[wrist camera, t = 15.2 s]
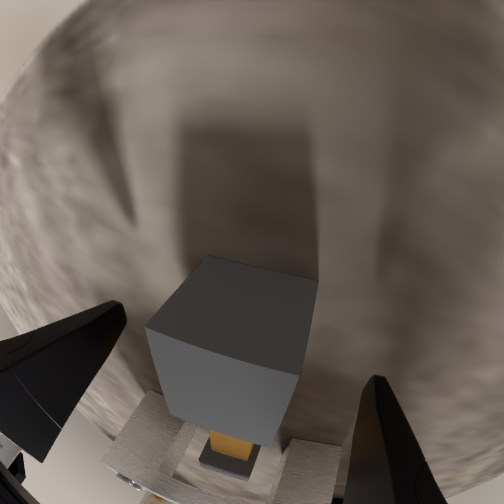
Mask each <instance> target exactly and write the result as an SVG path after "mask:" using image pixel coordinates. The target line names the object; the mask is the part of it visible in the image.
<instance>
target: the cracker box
mask: <svg viewBox="0 0 504 504" xmlns="http://www.w3.org/2000/svg"><path fill="white" fill-rule="evenodd" d="M140 504H174V503H172V502H170V501H168V500H165V499H163V498H161V497H159V496H157V495H155V494H153V493H151V492H149V491H147V492H146V494H145V495H144V497H143V499H142V501H141V503H140Z"/></svg>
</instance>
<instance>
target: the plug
mask: <svg viewBox="0 0 504 504" xmlns="http://www.w3.org/2000/svg"><path fill="white" fill-rule="evenodd" d="M318 282H319V281H317V280H312V279H308V278H303V277H299V276H294V275H290V274H285V273H281V272H277V271H272V270H268V269H263V268H259V267H255V266H250V265H246V264H242V263H238V262H233V261H229V260H225V259H221V258H216V257H212V256H207V257H206V258H205V259H204V260H203V261H202V262H201V263H200V264H199V265H198V267H197V268H196V269H195V270H194V271H193V272H192V273H191V274H190V275H189V277H188V278H187V279H186V280H185V281H184V282H183V283H182V284H181V285H180V287H179V288H178V289H177V290H176V291H175V292H174V293H173V294H172V296H171V297H170V298H169V299H168V300H167V301H166V302H165V303H164V305H163V306H162V307H161V308H160V309H159V310H158V311H157V313H156V314H155V315H154V316H153V317H152V318H151V319H150V321H149V322H148V323H147V324H146V325H145V326H144V328H145V332H146V336H147V340H148V344H149V348H150V351H151V355H152V359H153V362H154V366H155V369H156V372H157V376H158V379H159V382H160V385H161V388H162V392H163V395H164V398H165V401H166V403H167V406H168V409H169V412H170V414H172V415H174V416H176V417H179V418H181V419H183V420H186V421H188V422H191V423H193V424H196V425H198V426H201V427H204V428H207V429H209V434H210V437H209V439H208V441H207V443H206V445H205V447H204V449H203V451H202V453H201V455H200V457H199V462H200V465H201V466H202V467H204V468H207V469H210V470H213V471H216V472H219V473H222V474H225V475H228V476H231V477H234V478H238V479H241V480H245V481H248V480H249V477H250V475H251V472H252V470H253V467H254V464H255V461H256V459H257V456H258V453H259V450H260V447H261V446H265V447H269V448H270V447H271V444H272V442H273V440H274V438H275V436H276V433H277V431H278V429H279V426H280V424H281V422H282V419H283V417H284V415H285V412H286V410H287V408H288V405H289V403H290V400H291V398H292V395H293V393H294V390H295V387H296V385H297V382H298V380H299V377H300V373H301V369H302V364H303V360H304V355H305V351H306V346H307V341H308V336H309V332H310V326H311V321H312V316H313V311H314V305H315V300H316V294H317V288H318Z"/></svg>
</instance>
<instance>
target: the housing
mask: <svg viewBox="0 0 504 504" xmlns="http://www.w3.org/2000/svg"><path fill="white" fill-rule="evenodd" d="M196 430H197V427H196V424H193V423H191V422H188V421H186V420H183V419H181V418H179V417H176V416H174V415H172V414H170V412H169V409H168V406H167V403H166V401H165V398H164V396H163V395H161V394H158V393H156V392H154V391H152V390H150V389H149V390H148V392H147V393H146V395H145V396H144V398H143V399H142V401H141V402H140V404H139V405H138V406H137V408H136V409H135V411H134V412H133V414H132V415H131V417H130V418H129V420H128V421H127V423H126V424H125V425H124V427H123V428H122V430H121V431H120V433H119V434H118V436H117V437H116V439H115V440H114V442H113V443H112V445H111V446H110V448H109V449H108V451H107V452H106V453H105V455H104V456H103V458H102V459H101V462H102V463H104V464H105V465H106V466H108V467H109V468H110V469H112V470H113V471H114V472H116V473H117V475H116V476H117V477H119V478H120V479H122V480H123V481H125V482H126V483H128V484H129V485H131V486H133V487H135V488H137V489H139V490H140V491H142V489H145V490H147V491H149V492H151V493H153V494H155V495H157V496H159V497H161V498H163V499H165V500H168V501H170V502H172V503H174V504H245V503H241V502H238V501H234V500H231V499H227V498H224V497H221V496H218V495H215V494H212V493H209V492H206V491H204V490H201V489H198V488H196V487H193V486H190V485H188V484H185V483H183V482H181V481H178V480H176V479H174V478H171V477H172V475H173V474H174V472H175V470H176V468H177V466H178V464H179V462H180V461H181V459H182V457H183V455H184V453H185V451H186V449H187V447H188V445H189V443H190V442H191V440H192V438H193V436H194V434H195V432H196ZM341 450H342V446H337V445H330V444H323V443H317V442H311V441H306V440H300V439H296V438H292V439H291V441H290V442H289V444H288V446H287V447H286V449H285V451H284V452H283V454H282V456H281V459H280V462H279V466H278V469H277V472H276V475H275V478H274V481H273V484H272V487H271V490H270V493H269V496H268V499H267V501H266V504H331V502H332V497H333V493H334V488H335V483H336V478H337V473H338V468H339V462H340V456H341Z"/></svg>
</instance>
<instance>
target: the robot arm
mask: <svg viewBox="0 0 504 504" xmlns="http://www.w3.org/2000/svg"><path fill="white" fill-rule="evenodd" d="M126 323H127V318H126V314H125V310H124V306H123V304H122V303H120V302H118V301H115V300H112V301H109V302H106V303H104V304H101V305H98V306H96V307H93V308H90V309H88V310H85V311H83V312H80V313H77V314H75V315H72V316H69V317H67V318H64V319H62V320H59V321H56V322H54V323H51V324H48V325H46V326H43V327H41V328H38V329H36V330H33V331H30V332H27V333H25V334H22V335H19V336H16V337H13V338H10V339H6V340H2V341H0V504H40V503H39V502H38V501H37V500H36V499H35V498H34V497H33V496H32V495H31V494H30V493H29V492H28V491H27V490H26V489H25V488H24V487H23V486H22V485H21V484H22V482H23V481H24V479H25V478H26V476H25V469H24V461H23V454H22V453H21V452H20V451H21V450H23V451H25V452H26V453H28V454H29V455H30V456H32V457H33V458H35V459H36V460H38V461H39V462H41V463H43V461H44V460H45V458H46V456H47V454H48V452H49V450H50V449H51V447H52V445H53V444H54V442H55V440H56V438H57V436H58V435H59V433H60V431H61V430H62V428H63V426H64V425H65V423H66V421H67V420H68V418H69V416H70V414H71V413H72V411H73V410H74V408H75V407H76V405H77V403H78V402H79V400H80V399H81V397H82V396H83V394H84V392H85V391H86V389H87V388H88V386H89V385H90V383H91V382H92V380H93V379H94V377H95V376H96V374H97V373H98V371H99V370H100V368H101V367H102V365H103V364H104V362H105V361H106V359H107V358H108V356H109V354H110V353H111V351H112V349H113V347H114V345H115V344H116V342H117V340H118V338H119V336H120V335H121V333H122V331H123V329H124V327H125V326H126ZM425 460H426V459H425V457H424V455H423V453H422V450H421V448H420V446H419V444H418V442H417V440H416V437H415V435H414V433H413V431H412V429H411V427H410V425H409V423H408V421H407V419H406V417H405V415H404V413H403V410H402V408H401V406H400V404H399V403H398V401H397V399H396V397H395V395H394V393H393V391H392V389H391V387H390V385H389V383H388V381H387V379H386V378H385V377H384V376H380V375H373V376H372V377H371V378H370V380H369V381H368V383H367V384H366V386H365V387H364V389H363V391H362V394H361V399H360V405H359V410H358V415H357V420H356V424H355V429H354V434H353V442H352V450H351V458H350V465H349V471H348V478H347V484H346V489H345V495H344V500H336V499H332V502H331V504H448V503H447V502H446V500H445V498H444V496H443V494H442V493H441V491H440V489H439V487H438V485H437V483H436V481H435V479H434V477H433V475H432V473H431V470H430V468H429V466H428V464H427V462H426V461H425Z"/></svg>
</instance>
